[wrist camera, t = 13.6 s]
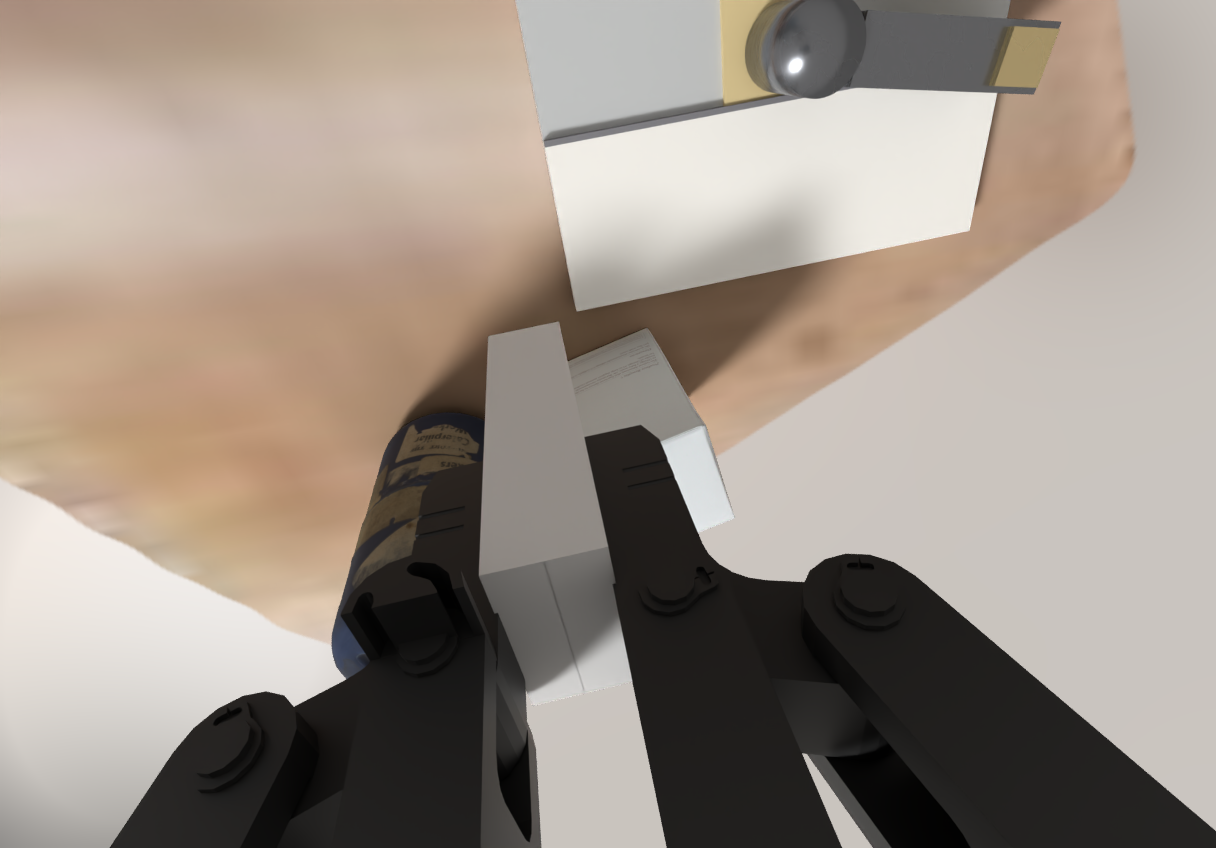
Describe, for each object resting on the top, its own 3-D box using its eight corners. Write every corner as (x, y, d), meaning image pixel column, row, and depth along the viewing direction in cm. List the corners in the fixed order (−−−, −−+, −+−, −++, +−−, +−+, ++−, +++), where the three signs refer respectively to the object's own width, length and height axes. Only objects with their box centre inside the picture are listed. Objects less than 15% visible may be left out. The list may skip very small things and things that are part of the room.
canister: (507, 394, 40) (511, 597, 25) (527, 497, 46) (540, 714, 31) (367, 413, 39) (286, 635, 24) (404, 516, 45) (355, 749, 30)
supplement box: (590, 443, 44) (618, 567, 33) (551, 364, 40) (569, 478, 29) (680, 407, 43) (738, 522, 33) (651, 323, 39) (706, 423, 29)
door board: (505, -52, 27) (505, -67, 24) (1021, -142, 28) (1093, -169, 25) (574, 302, 37) (581, 328, 34) (953, 224, 39) (998, 241, 35)
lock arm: (738, 91, 30) (773, 97, 27) (751, -3, 28) (791, -11, 24) (974, 99, 33) (1036, 106, 29) (1003, 13, 30) (1075, 8, 27)
